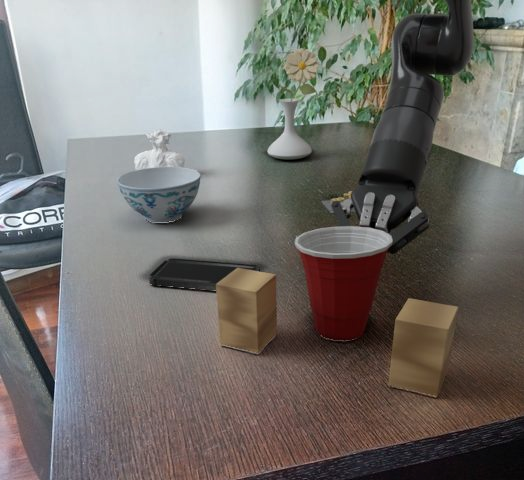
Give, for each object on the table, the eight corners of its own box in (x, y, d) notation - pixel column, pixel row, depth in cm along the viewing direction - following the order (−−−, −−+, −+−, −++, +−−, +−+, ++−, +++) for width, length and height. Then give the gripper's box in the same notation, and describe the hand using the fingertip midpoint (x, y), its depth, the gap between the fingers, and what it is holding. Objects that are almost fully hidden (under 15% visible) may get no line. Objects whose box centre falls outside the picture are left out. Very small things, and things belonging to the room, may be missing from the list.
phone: (167, 257, 87) (261, 265, 84) (168, 264, 88) (262, 272, 84) (145, 278, 81) (246, 287, 77) (146, 285, 81) (247, 295, 78)
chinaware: (132, 237, 99) (125, 192, 95) (117, 212, 111) (110, 172, 107) (214, 224, 104) (210, 181, 100) (191, 202, 116) (187, 163, 112)
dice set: (354, 200, 114) (354, 190, 113) (361, 208, 109) (362, 198, 108) (329, 202, 113) (329, 192, 112) (336, 210, 109) (336, 200, 108)
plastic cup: (350, 302, 75) (356, 214, 69) (402, 338, 67) (414, 241, 61) (278, 322, 71) (277, 230, 65) (324, 363, 63) (327, 261, 57)
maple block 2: (447, 373, 60) (458, 306, 56) (437, 399, 57) (448, 329, 53) (400, 363, 62) (408, 297, 58) (387, 387, 59) (395, 318, 55)
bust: (187, 186, 134) (191, 141, 135) (179, 173, 126) (183, 124, 128) (139, 185, 135) (143, 140, 137) (127, 172, 128) (132, 124, 129)
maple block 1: (277, 335, 68) (276, 274, 64) (258, 355, 65) (256, 291, 60) (240, 327, 70) (237, 267, 66) (220, 346, 67) (215, 284, 62)
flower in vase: (261, 161, 144) (258, 50, 131) (274, 151, 153) (273, 46, 140) (311, 164, 140) (314, 50, 127) (322, 154, 149) (325, 46, 136)
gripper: (342, 133, 72) (302, 258, 69) (449, 141, 67) (409, 277, 64) (354, 166, 79) (317, 281, 76) (451, 175, 73) (416, 299, 71)
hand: (359, 279), depth 70 cm, fingers closed
